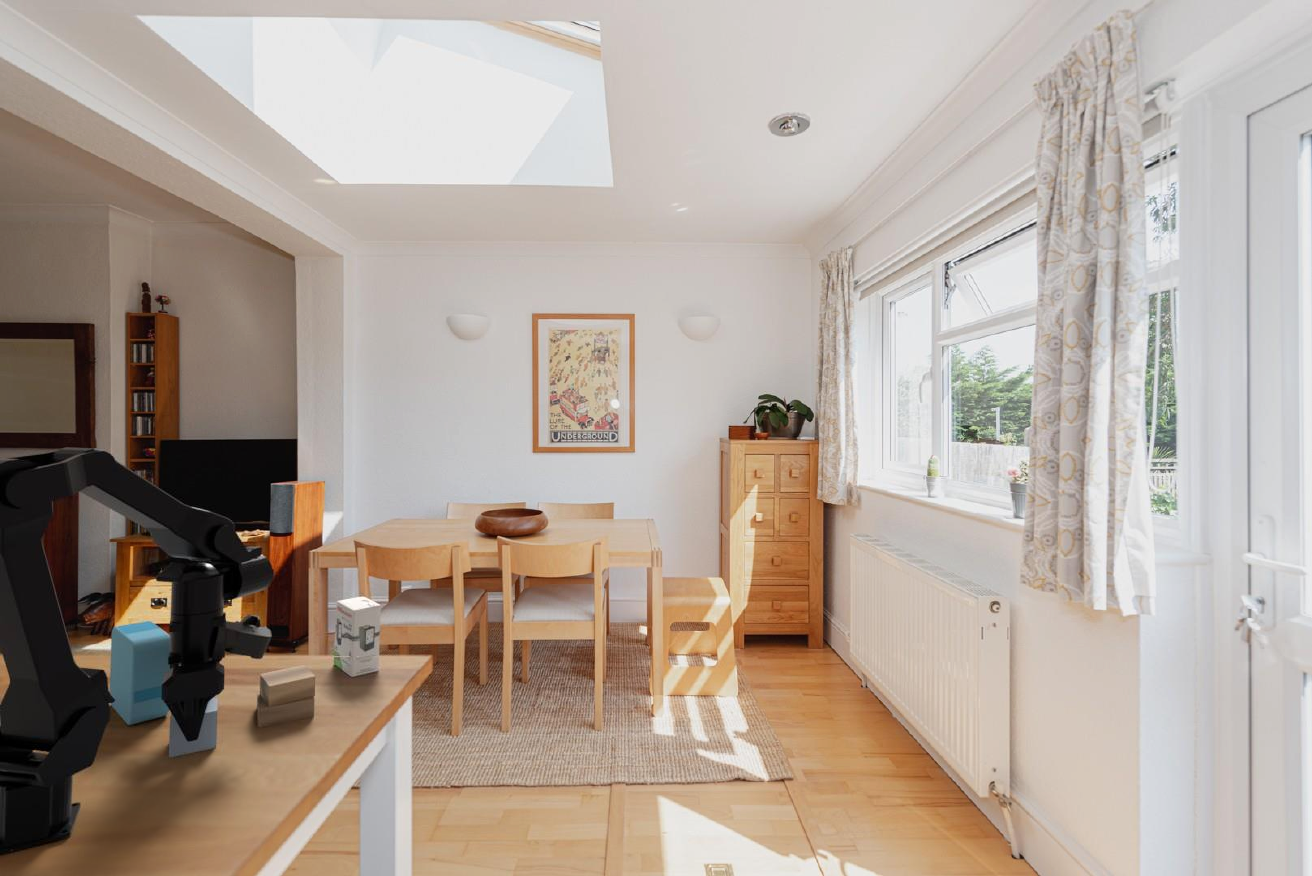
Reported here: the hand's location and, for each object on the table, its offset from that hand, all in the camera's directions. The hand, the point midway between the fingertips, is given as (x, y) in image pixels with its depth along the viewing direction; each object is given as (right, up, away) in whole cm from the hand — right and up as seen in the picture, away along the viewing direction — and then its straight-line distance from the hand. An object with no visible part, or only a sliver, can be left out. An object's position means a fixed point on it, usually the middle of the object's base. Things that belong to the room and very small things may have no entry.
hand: (193, 726), depth 84 cm
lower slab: (+6, -3, +10) cm, 12 cm away
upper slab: (+6, 0, +10) cm, 12 cm away
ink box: (+8, -3, +29) cm, 30 cm away
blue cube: (0, -3, 0) cm, 3 cm away
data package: (-15, -2, +9) cm, 18 cm away
